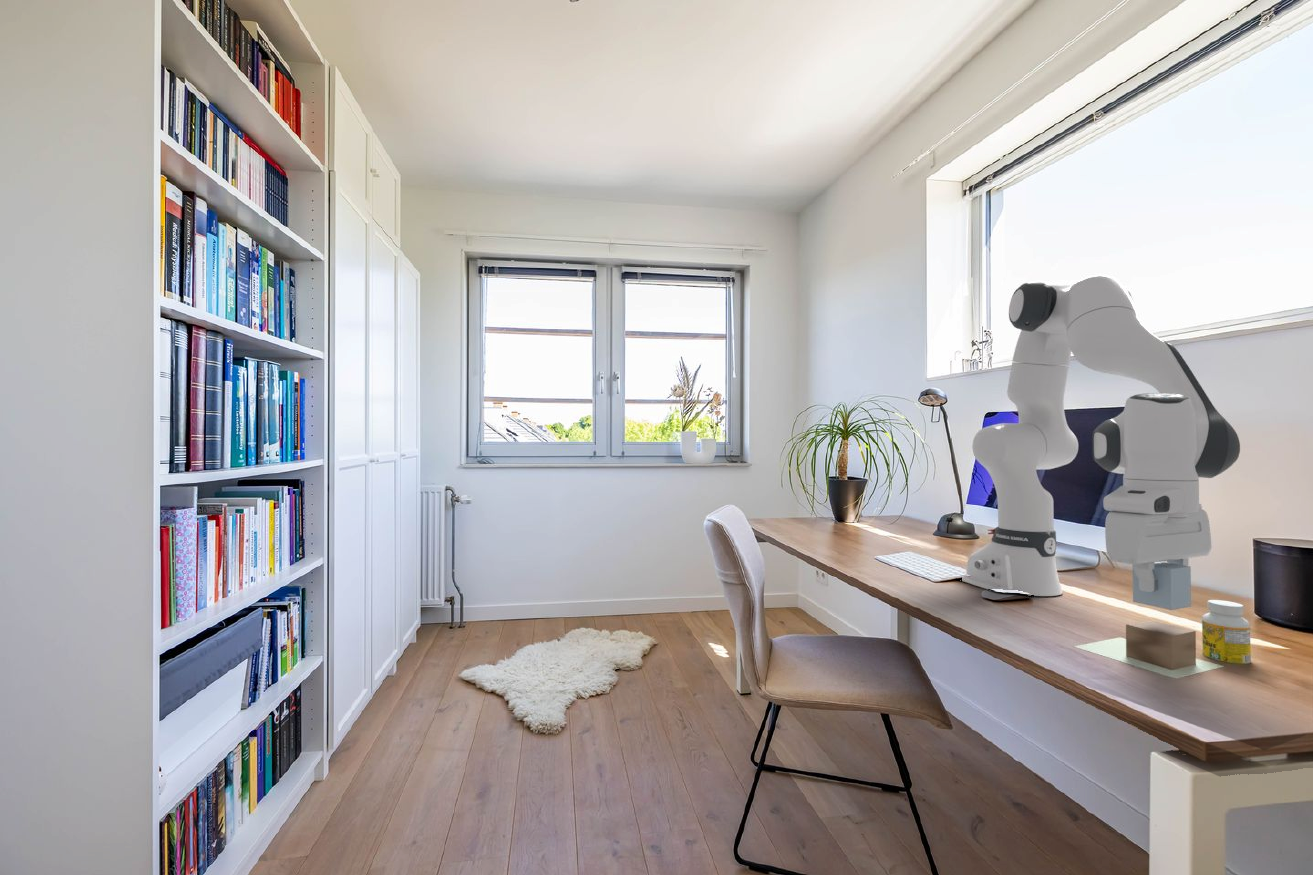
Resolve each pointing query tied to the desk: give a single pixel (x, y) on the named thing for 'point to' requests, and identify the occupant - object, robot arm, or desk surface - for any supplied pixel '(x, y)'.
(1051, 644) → the desk surface
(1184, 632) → the walnut block
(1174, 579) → the slate brick
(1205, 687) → the desk surface
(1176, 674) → the plate
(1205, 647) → the supplement bottle
